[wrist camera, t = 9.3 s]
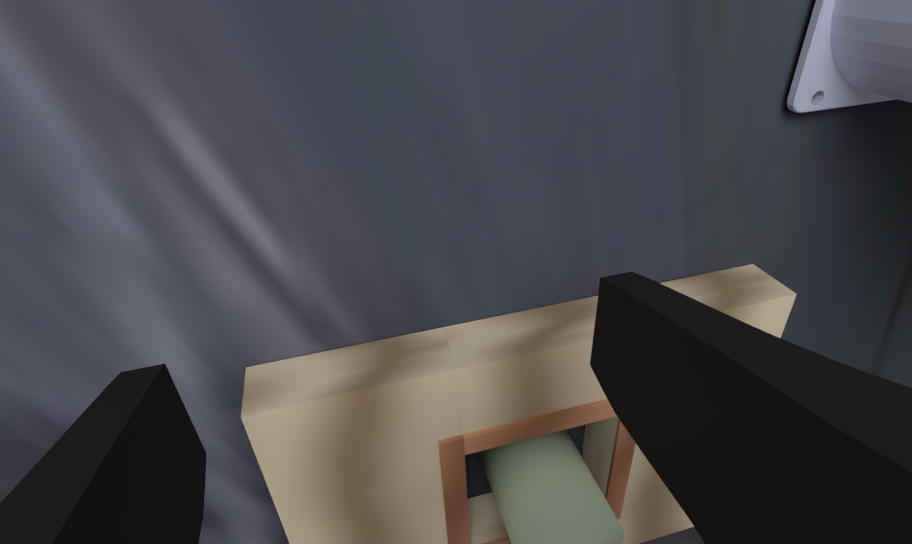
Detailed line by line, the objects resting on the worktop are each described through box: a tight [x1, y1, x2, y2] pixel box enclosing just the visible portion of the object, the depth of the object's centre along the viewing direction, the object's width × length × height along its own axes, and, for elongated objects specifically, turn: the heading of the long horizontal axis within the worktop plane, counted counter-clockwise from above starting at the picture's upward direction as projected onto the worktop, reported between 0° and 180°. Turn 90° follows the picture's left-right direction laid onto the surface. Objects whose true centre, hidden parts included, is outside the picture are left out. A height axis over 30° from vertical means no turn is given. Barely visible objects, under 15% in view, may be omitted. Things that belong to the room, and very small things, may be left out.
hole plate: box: [241, 264, 797, 544], centre depth 25 cm, size 22×16×3 cm
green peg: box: [478, 429, 624, 544], centre depth 23 cm, size 4×4×6 cm
